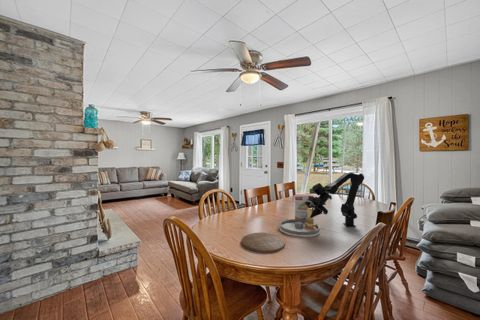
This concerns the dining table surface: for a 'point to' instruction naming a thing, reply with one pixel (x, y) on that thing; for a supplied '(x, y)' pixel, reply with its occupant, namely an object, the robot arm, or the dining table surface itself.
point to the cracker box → (301, 206)
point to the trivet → (263, 242)
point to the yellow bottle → (310, 219)
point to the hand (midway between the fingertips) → (308, 216)
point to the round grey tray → (298, 228)
